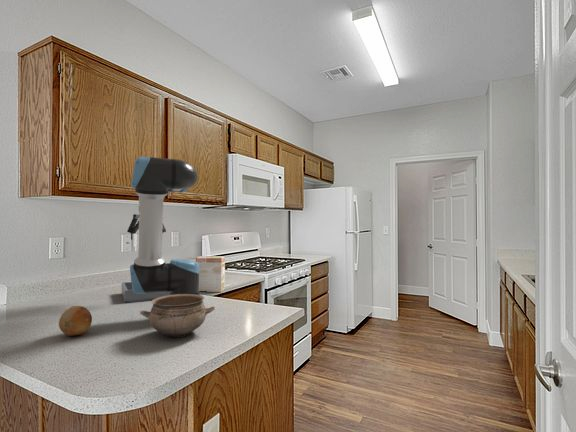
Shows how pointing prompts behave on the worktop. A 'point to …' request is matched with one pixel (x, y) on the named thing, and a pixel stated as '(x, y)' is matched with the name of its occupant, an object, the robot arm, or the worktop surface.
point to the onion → (75, 321)
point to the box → (133, 297)
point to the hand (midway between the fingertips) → (146, 246)
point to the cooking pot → (177, 314)
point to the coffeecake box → (211, 273)
